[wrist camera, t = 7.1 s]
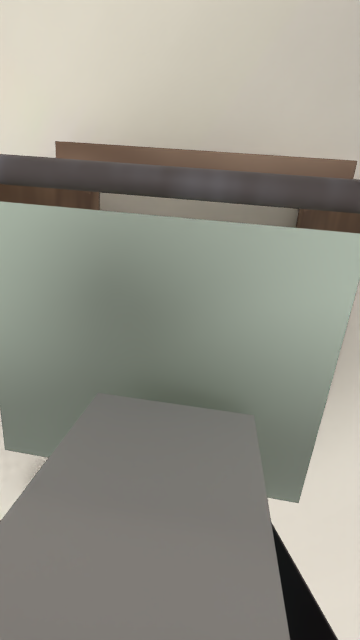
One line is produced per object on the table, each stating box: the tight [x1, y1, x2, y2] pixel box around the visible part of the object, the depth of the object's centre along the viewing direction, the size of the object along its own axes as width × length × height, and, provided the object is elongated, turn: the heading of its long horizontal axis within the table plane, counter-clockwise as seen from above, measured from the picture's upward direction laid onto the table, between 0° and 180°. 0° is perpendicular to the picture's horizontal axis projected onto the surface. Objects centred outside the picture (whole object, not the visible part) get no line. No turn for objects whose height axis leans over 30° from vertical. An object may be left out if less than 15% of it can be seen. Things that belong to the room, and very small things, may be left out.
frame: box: [0, 141, 360, 234], centre depth 14 cm, size 14×16×10 cm
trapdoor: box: [0, 202, 360, 503], centre depth 10 cm, size 9×11×1 cm
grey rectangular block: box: [0, 393, 290, 640], centre depth 6 cm, size 4×4×6 cm
